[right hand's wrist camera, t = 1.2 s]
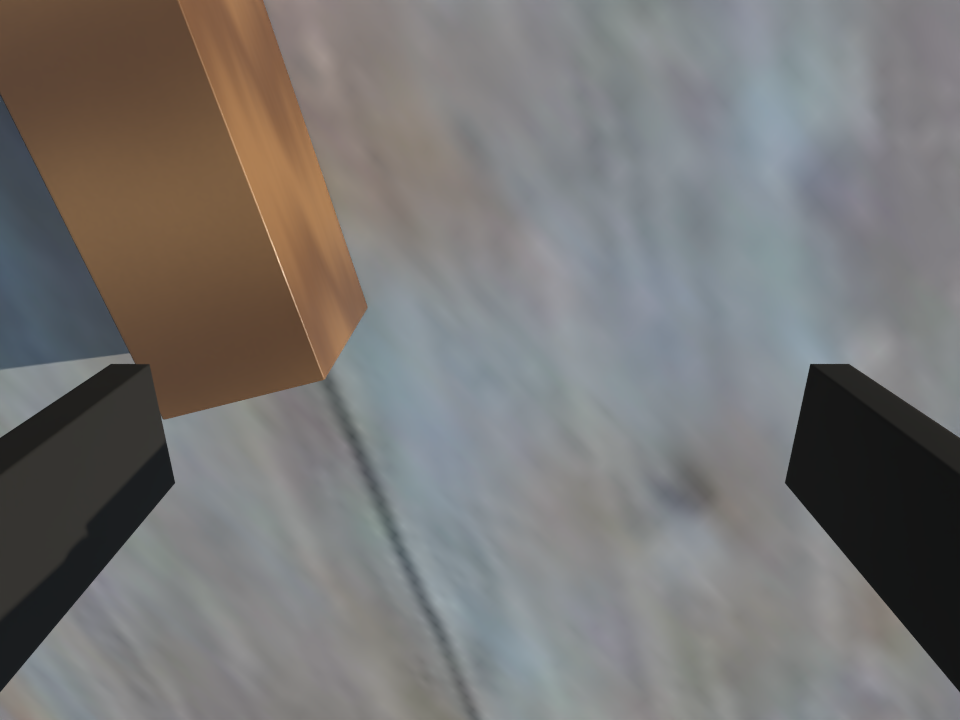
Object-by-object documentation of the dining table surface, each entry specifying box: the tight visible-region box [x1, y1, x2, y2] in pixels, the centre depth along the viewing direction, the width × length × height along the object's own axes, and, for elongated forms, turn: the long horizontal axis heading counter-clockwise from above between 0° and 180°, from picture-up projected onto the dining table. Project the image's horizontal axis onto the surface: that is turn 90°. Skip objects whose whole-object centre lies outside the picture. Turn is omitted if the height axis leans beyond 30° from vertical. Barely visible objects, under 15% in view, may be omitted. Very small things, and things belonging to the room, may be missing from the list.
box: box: [0, 0, 368, 419], centre depth 22 cm, size 22×6×9 cm, turn 15°
